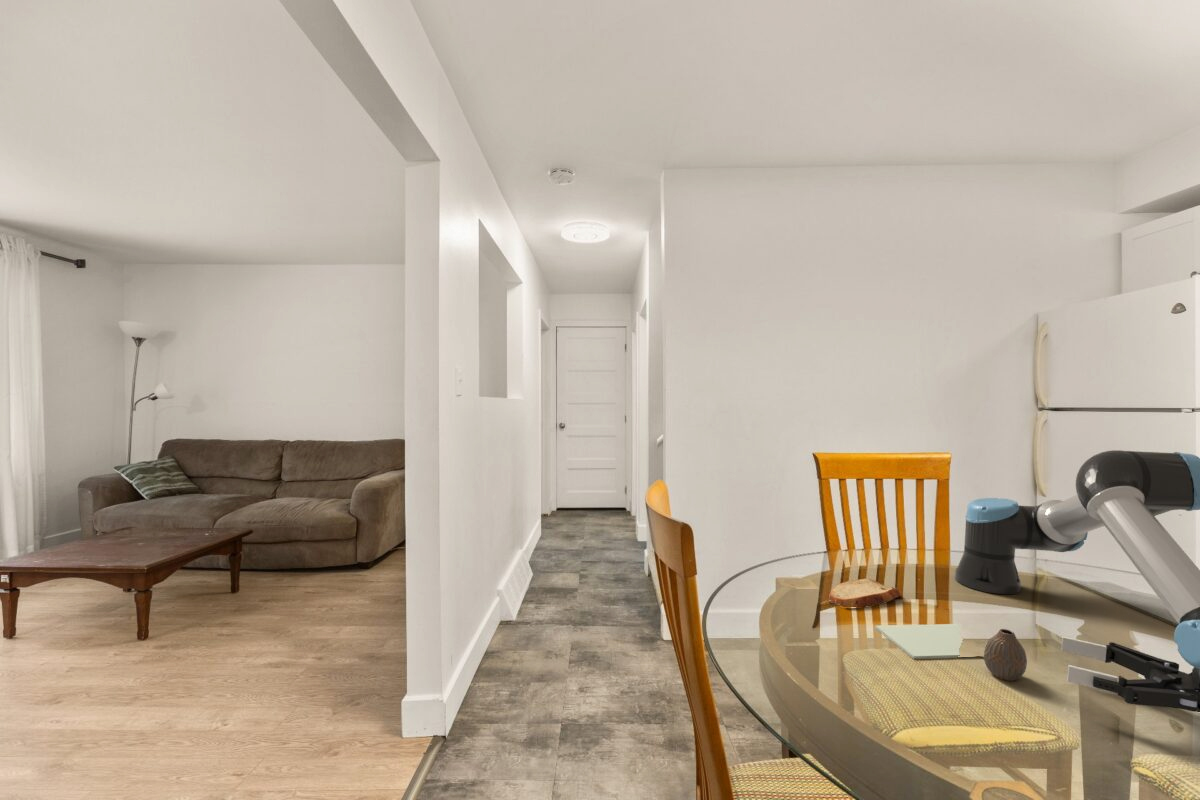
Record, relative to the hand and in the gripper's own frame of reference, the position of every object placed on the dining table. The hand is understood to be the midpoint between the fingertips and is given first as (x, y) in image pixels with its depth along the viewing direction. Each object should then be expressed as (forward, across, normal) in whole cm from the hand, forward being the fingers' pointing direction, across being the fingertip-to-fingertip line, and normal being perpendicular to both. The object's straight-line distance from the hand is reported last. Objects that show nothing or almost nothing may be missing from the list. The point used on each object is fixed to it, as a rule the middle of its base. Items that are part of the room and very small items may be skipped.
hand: (1064, 657), depth 111 cm
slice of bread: (+39, +25, -7) cm, 46 cm away
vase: (+9, 0, -7) cm, 11 cm away
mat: (+21, +8, -6) cm, 24 cm away
